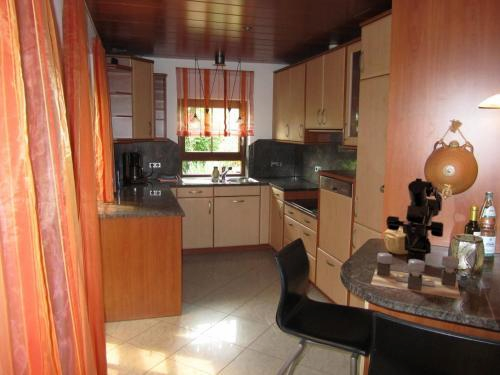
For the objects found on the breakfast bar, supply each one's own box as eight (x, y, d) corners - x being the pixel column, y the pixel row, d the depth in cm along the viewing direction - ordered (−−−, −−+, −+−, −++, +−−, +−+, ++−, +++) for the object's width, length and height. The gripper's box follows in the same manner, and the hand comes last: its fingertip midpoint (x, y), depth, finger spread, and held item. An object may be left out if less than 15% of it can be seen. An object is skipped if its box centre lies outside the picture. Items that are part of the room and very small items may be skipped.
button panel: (375, 272, 157) (376, 258, 156) (456, 284, 147) (458, 269, 146) (370, 288, 142) (371, 272, 141) (460, 303, 132) (462, 286, 131)
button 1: (384, 266, 154) (385, 252, 154) (394, 270, 150) (395, 256, 149) (373, 267, 152) (374, 253, 151) (383, 272, 148) (384, 258, 147)
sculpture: (378, 249, 185) (380, 225, 183) (400, 247, 189) (402, 223, 187) (395, 257, 174) (398, 232, 173) (418, 255, 179) (421, 230, 177)
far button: (414, 273, 142) (416, 258, 141) (426, 278, 138) (428, 263, 137) (403, 275, 140) (405, 260, 139) (415, 281, 136) (417, 265, 135)
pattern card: (396, 275, 150) (396, 273, 150) (433, 281, 146) (433, 279, 145) (395, 281, 144) (395, 279, 144) (433, 287, 140) (434, 285, 140)
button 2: (447, 270, 146) (449, 255, 146) (460, 275, 142) (462, 260, 141) (437, 272, 144) (439, 257, 143) (450, 277, 140) (451, 261, 139)
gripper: (389, 193, 153) (380, 230, 145) (446, 199, 144) (440, 238, 136) (391, 211, 161) (383, 246, 153) (445, 217, 152) (439, 255, 145)
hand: (410, 246), depth 147 cm, fingers closed
